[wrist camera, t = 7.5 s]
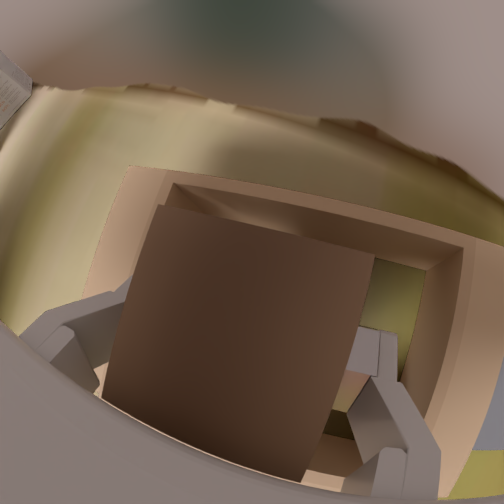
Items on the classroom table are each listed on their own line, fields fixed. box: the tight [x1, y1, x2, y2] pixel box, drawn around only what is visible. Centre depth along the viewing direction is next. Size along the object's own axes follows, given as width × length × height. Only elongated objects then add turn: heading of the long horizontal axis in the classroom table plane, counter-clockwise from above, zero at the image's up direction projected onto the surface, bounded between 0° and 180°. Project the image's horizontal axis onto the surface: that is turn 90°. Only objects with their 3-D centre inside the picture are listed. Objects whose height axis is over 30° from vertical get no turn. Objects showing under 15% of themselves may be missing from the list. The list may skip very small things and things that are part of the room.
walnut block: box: [101, 204, 375, 483], centre depth 9 cm, size 4×4×9 cm
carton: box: [81, 165, 504, 497], centre depth 13 cm, size 19×14×5 cm
